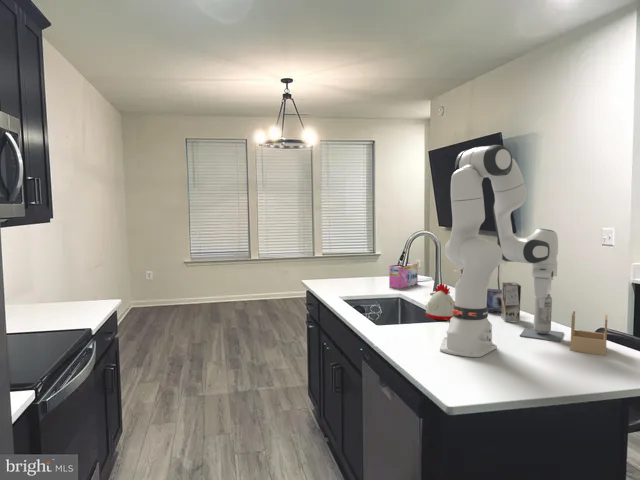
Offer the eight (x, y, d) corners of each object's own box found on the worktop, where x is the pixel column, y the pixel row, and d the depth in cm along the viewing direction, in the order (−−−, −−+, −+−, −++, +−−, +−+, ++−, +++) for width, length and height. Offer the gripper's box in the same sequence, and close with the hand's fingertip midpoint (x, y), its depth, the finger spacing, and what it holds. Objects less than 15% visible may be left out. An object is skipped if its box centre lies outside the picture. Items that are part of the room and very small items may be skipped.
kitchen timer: (441, 321, 203) (442, 287, 202) (419, 315, 215) (420, 283, 214) (463, 317, 211) (464, 284, 210) (440, 311, 222) (441, 280, 221)
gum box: (408, 282, 307) (408, 262, 306) (418, 284, 302) (419, 263, 301) (388, 287, 289) (389, 265, 288) (399, 289, 284) (400, 266, 283)
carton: (605, 355, 157) (607, 320, 156) (570, 350, 162) (571, 316, 162) (605, 347, 166) (607, 314, 165) (572, 342, 171) (573, 310, 171)
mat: (560, 342, 172) (560, 340, 172) (519, 336, 180) (520, 335, 179) (563, 333, 184) (563, 332, 184) (525, 328, 191) (525, 327, 191)
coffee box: (520, 322, 202) (521, 285, 200) (504, 321, 203) (505, 285, 202) (515, 317, 210) (516, 282, 209) (500, 316, 212) (501, 281, 211)
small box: (482, 312, 221) (483, 290, 221) (483, 309, 227) (484, 288, 227) (506, 314, 217) (507, 292, 217) (506, 311, 223) (507, 289, 223)
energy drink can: (548, 330, 184) (550, 293, 183) (552, 334, 178) (554, 295, 177) (532, 329, 185) (533, 292, 184) (535, 333, 179) (536, 295, 178)
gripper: (538, 267, 190) (537, 300, 191) (531, 273, 173) (530, 309, 174) (555, 268, 187) (554, 302, 188) (550, 274, 170) (549, 311, 171)
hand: (542, 305), depth 181 cm, fingers closed on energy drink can, 6 cm apart
